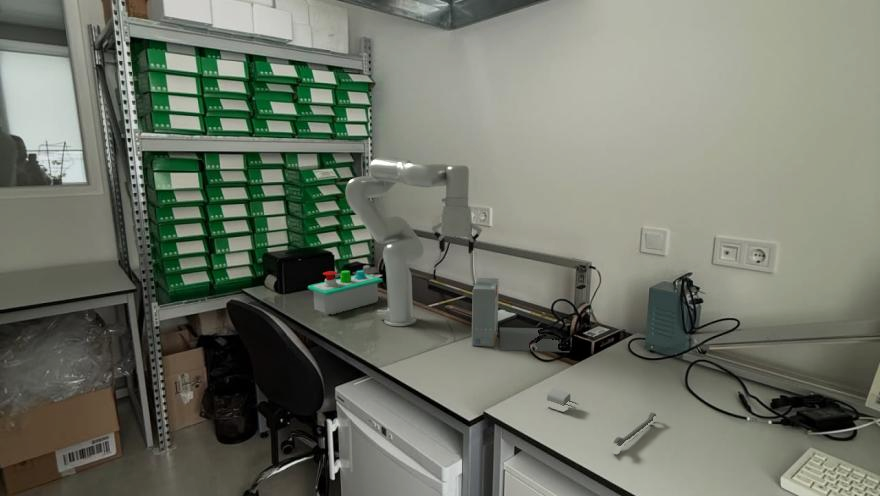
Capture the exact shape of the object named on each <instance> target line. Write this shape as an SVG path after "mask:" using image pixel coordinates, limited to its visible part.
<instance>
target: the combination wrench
mask: <svg viewBox="0 0 880 496" xmlns="http://www.w3.org/2000/svg"><path fill="white" fill-rule="evenodd" d="M648 414H649V415H648V417H647V419H646V420H645V421H644V422H643V423H641V424H639V426H636V428H634V429H633V430H632V431H631V432H630V433H628V434H627V435H625V436H624V437H620V436H617V437H616V438H615V439H614V440H613V444H616V446H617V445H618V446H621V445H622V444H623V443H624V442H625V441H626V440H628V439H630V438H631V437H632V436H634V435H635V434H636V433H637V432H639V431H640V430H641V429H643V428H644V427H645V426H646V425H648V423H650V422H651V421H653V417H654V416H656V417H657V414H656V413H654V412H650V413H648Z"/></svg>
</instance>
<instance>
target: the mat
mask: <svg viewBox="0 0 880 496" xmlns="http://www.w3.org/2000/svg"><path fill="white" fill-rule="evenodd" d="M498 327H499V326H498ZM498 329H499V346H500V348H499V349H500V351H505V352H507V351H509V352H510V351H511V352H512V351H513V352H531V351H530V348H529V343H530V342H531V341H532V340H534V339H535V338H537V337H538V336H539V333H538V330H540V329H542V328H540V327H539V328H537V327H535V328H534V327H533V328H532V327H499V328H498ZM558 344H559V341H558V340H555V339H554V340H552V339H542V340H540V341H538V342H537V343H536V346H537V349H536V351H535V352H538V351H539V353H540V352H542V353H545V352H546V353H547V352H548V353H570V350H569V351H561V350H559V349H558Z"/></svg>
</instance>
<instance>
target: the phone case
mask: <svg viewBox="0 0 880 496" xmlns="http://www.w3.org/2000/svg"><path fill="white" fill-rule="evenodd" d="M517 317H518V315H517V313H515V312H512V311H509V310H506V309H498V325H499V324H503V323H505V322H509V321H510V320H513V319H517Z"/></svg>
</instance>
